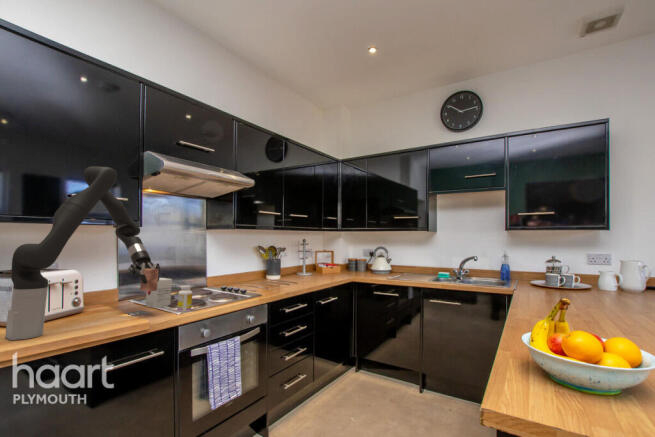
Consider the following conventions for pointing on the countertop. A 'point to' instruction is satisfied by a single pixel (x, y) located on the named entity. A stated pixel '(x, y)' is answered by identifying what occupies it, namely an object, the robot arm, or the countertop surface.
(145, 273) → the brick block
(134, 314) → the slate card
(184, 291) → the supplement bottle
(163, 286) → the supplement box
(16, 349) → the countertop surface
